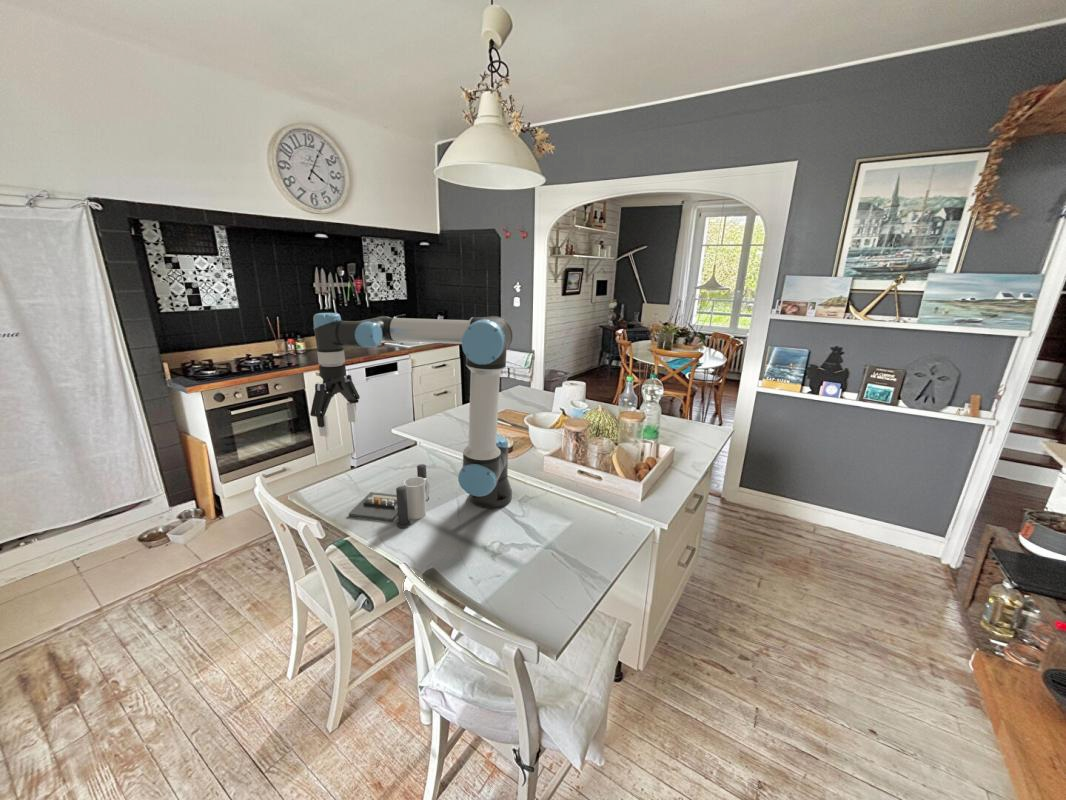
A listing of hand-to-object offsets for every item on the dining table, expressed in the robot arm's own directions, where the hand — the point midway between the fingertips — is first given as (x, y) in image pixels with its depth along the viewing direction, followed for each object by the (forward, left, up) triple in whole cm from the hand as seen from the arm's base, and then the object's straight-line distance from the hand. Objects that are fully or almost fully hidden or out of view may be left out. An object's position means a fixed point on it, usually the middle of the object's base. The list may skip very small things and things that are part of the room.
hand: (339, 428), depth 136 cm
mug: (-26, +1, -27) cm, 38 cm away
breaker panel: (-13, +1, -27) cm, 30 cm away
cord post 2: (-24, -7, -27) cm, 37 cm away
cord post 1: (-24, +9, -27) cm, 37 cm away
